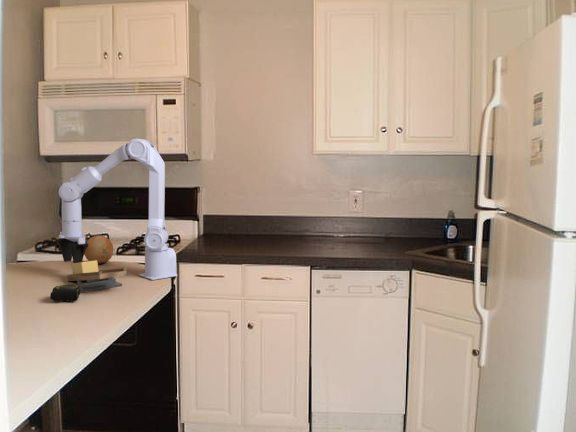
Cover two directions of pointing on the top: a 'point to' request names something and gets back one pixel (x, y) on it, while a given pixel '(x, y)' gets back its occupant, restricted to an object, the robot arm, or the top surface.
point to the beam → (97, 275)
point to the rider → (85, 267)
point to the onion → (99, 249)
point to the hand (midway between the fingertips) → (72, 263)
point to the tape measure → (65, 293)
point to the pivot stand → (97, 284)
